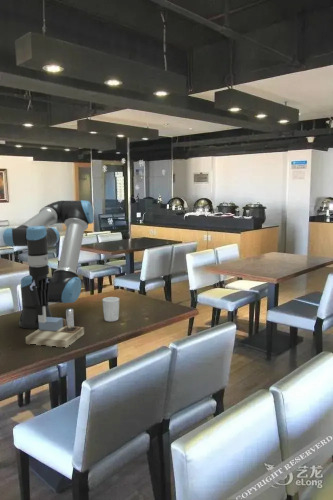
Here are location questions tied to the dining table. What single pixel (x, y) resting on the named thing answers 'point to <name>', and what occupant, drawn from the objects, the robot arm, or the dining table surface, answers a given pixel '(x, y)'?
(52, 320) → the block
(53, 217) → the robot arm
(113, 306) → the white cup
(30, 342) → the base plate
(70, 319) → the pin
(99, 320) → the dining table surface
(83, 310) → the dining table surface
